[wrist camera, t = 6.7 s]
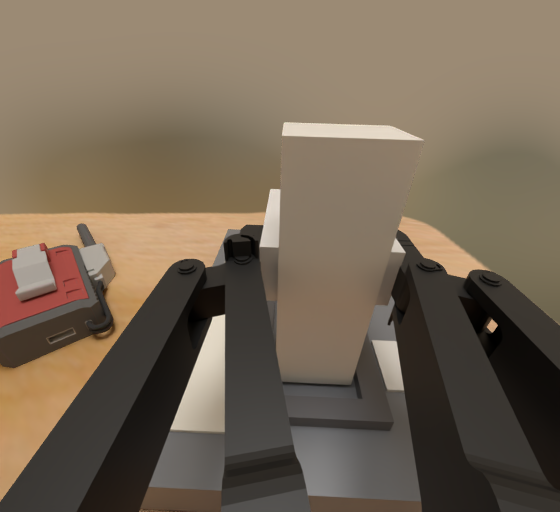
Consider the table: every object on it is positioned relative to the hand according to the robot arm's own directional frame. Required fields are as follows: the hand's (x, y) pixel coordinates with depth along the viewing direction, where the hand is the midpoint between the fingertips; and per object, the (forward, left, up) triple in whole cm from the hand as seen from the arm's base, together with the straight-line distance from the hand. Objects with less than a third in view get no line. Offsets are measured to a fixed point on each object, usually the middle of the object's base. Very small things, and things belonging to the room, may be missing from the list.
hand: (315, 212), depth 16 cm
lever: (0, -5, -7) cm, 9 cm away
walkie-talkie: (-23, +4, -11) cm, 26 cm away
